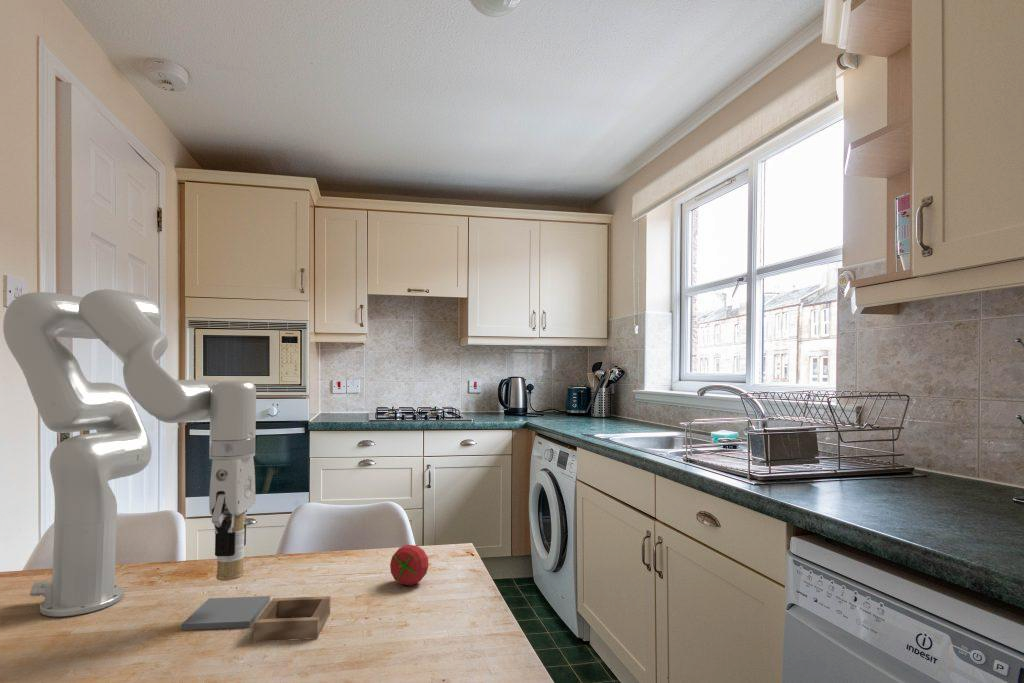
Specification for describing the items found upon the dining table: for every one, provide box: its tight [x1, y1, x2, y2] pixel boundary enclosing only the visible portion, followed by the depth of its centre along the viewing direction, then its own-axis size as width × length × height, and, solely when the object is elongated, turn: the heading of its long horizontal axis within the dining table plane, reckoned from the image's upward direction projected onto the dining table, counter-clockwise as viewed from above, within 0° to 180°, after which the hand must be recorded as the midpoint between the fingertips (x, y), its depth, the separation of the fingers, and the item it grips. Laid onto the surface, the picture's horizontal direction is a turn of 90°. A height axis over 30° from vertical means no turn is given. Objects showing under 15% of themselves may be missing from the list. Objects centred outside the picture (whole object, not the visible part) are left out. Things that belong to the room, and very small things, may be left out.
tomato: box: [389, 544, 430, 586], centre depth 118 cm, size 8×8×8 cm
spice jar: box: [215, 511, 245, 582], centre depth 103 cm, size 5×5×13 cm
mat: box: [180, 595, 271, 631], centre depth 103 cm, size 11×11×1 cm
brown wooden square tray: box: [253, 595, 332, 643], centre depth 98 cm, size 10×10×3 cm
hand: (230, 549), depth 103 cm, fingers closed on spice jar, 4 cm apart
